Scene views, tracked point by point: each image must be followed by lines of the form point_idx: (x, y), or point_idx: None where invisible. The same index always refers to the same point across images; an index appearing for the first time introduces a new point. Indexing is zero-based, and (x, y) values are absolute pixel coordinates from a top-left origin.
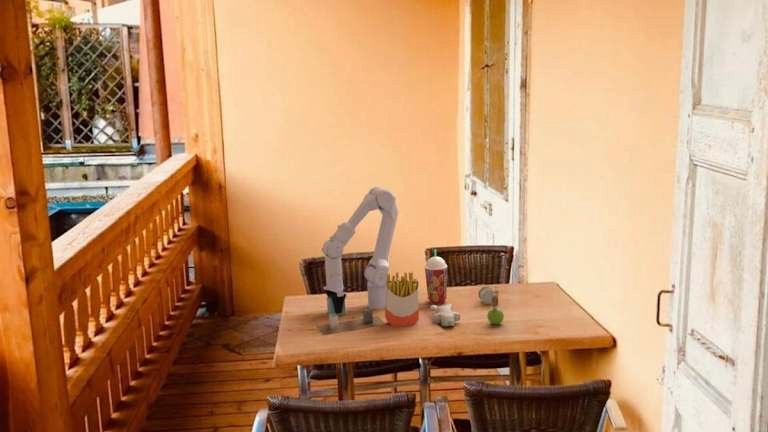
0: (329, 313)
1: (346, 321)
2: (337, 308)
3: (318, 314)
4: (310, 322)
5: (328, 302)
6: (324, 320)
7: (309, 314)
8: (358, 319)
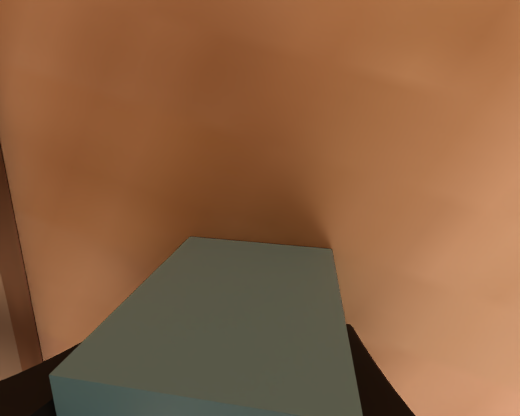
0: (255, 258)
1: (2, 304)
2: None
3: (418, 170)
4: (190, 4)
5: (240, 345)
6: (188, 166)
7: (495, 69)
8: None
